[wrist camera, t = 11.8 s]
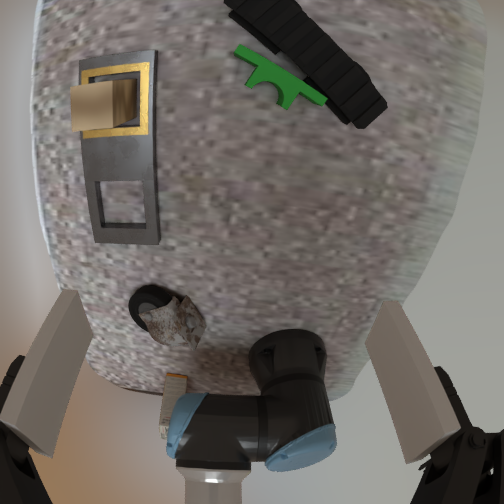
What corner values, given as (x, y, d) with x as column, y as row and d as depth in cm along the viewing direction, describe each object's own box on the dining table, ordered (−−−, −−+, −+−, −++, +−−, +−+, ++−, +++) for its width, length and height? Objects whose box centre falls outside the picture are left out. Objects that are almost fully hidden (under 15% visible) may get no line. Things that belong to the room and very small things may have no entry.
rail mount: (378, 95, 33) (396, 99, 29) (345, 126, 35) (359, 133, 31) (259, -21, 24) (262, -35, 20) (221, 11, 27) (218, 1, 23)
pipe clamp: (222, 73, 31) (220, 71, 27) (239, 48, 30) (239, 43, 26) (301, 119, 35) (309, 125, 31) (318, 96, 33) (328, 98, 29)
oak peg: (136, 117, 33) (113, 127, 26) (101, 119, 33) (72, 131, 26) (136, 78, 30) (112, 80, 24) (100, 82, 30) (70, 86, 23)
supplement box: (165, 371, 60) (157, 424, 49) (187, 375, 60) (182, 428, 49) (165, 390, 64) (159, 439, 53) (185, 393, 65) (181, 442, 54)
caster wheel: (132, 285, 50) (175, 269, 47) (165, 335, 54) (209, 325, 50) (112, 306, 44) (157, 291, 41) (150, 359, 48) (196, 351, 44)
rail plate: (160, 239, 43) (158, 245, 41) (98, 237, 42) (94, 243, 40) (158, 51, 29) (154, 49, 27) (84, 60, 28) (78, 60, 26)
